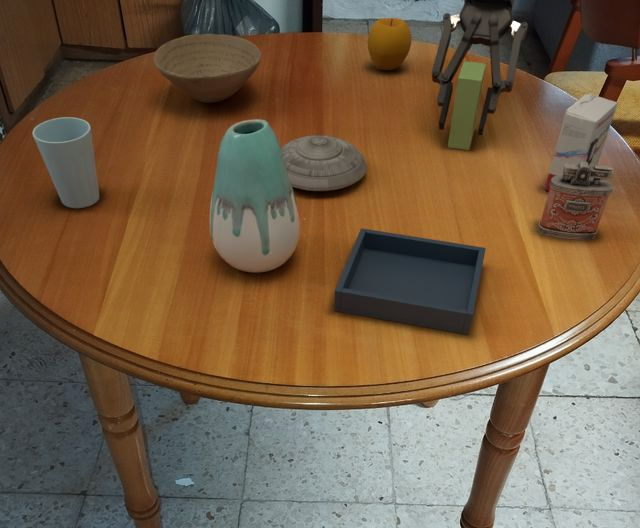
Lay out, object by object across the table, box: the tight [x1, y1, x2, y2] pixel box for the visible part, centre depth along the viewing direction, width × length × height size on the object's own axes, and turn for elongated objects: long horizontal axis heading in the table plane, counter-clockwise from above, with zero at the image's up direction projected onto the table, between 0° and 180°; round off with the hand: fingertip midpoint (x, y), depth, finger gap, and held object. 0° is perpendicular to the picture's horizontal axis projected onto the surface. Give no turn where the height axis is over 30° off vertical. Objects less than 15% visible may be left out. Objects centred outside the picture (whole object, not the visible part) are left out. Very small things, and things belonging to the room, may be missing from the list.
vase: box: [209, 118, 301, 273], centre depth 84 cm, size 12×12×18 cm
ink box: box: [544, 93, 618, 192], centre depth 100 cm, size 9×5×12 cm, turn 143°
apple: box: [367, 17, 413, 71], centre depth 130 cm, size 8×8×9 cm
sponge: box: [447, 60, 487, 151], centre depth 110 cm, size 4×7×11 cm, turn 165°
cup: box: [31, 116, 100, 209], centre depth 96 cm, size 8×8×10 cm
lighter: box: [536, 161, 614, 240], centre depth 92 cm, size 8×3×10 cm, turn 80°
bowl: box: [153, 33, 262, 104], centre depth 121 cm, size 18×18×8 cm
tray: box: [333, 227, 487, 336], centre depth 85 cm, size 17×14×3 cm
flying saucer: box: [281, 134, 368, 192], centre depth 104 cm, size 15×15×6 cm
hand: (460, 128), depth 109 cm, fingers open, 6 cm apart
